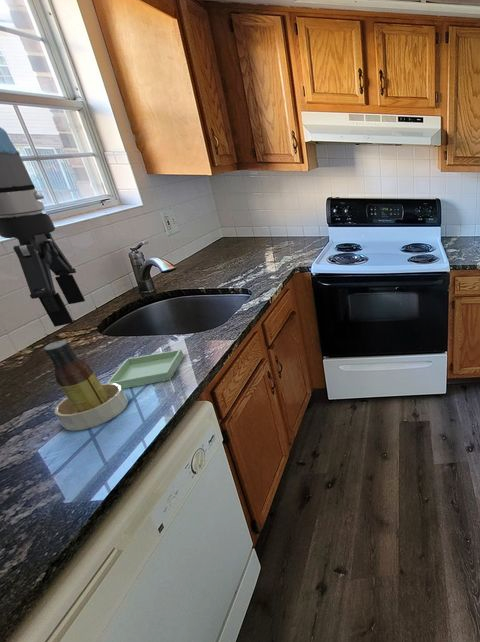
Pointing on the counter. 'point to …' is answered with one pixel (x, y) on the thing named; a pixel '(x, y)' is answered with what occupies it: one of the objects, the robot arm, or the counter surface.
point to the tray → (147, 369)
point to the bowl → (92, 410)
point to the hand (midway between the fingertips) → (71, 312)
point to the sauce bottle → (75, 377)
